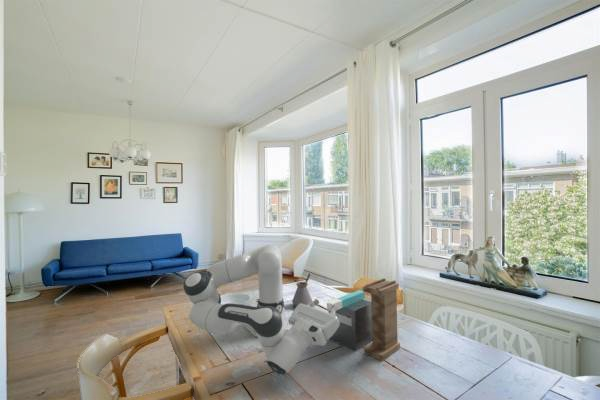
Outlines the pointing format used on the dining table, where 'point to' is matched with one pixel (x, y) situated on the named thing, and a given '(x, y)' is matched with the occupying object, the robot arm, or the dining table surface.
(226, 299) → the serving bowl
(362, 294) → the teal bar
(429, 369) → the dining table surface
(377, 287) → the post
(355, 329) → the switch box
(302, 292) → the coffee pot
